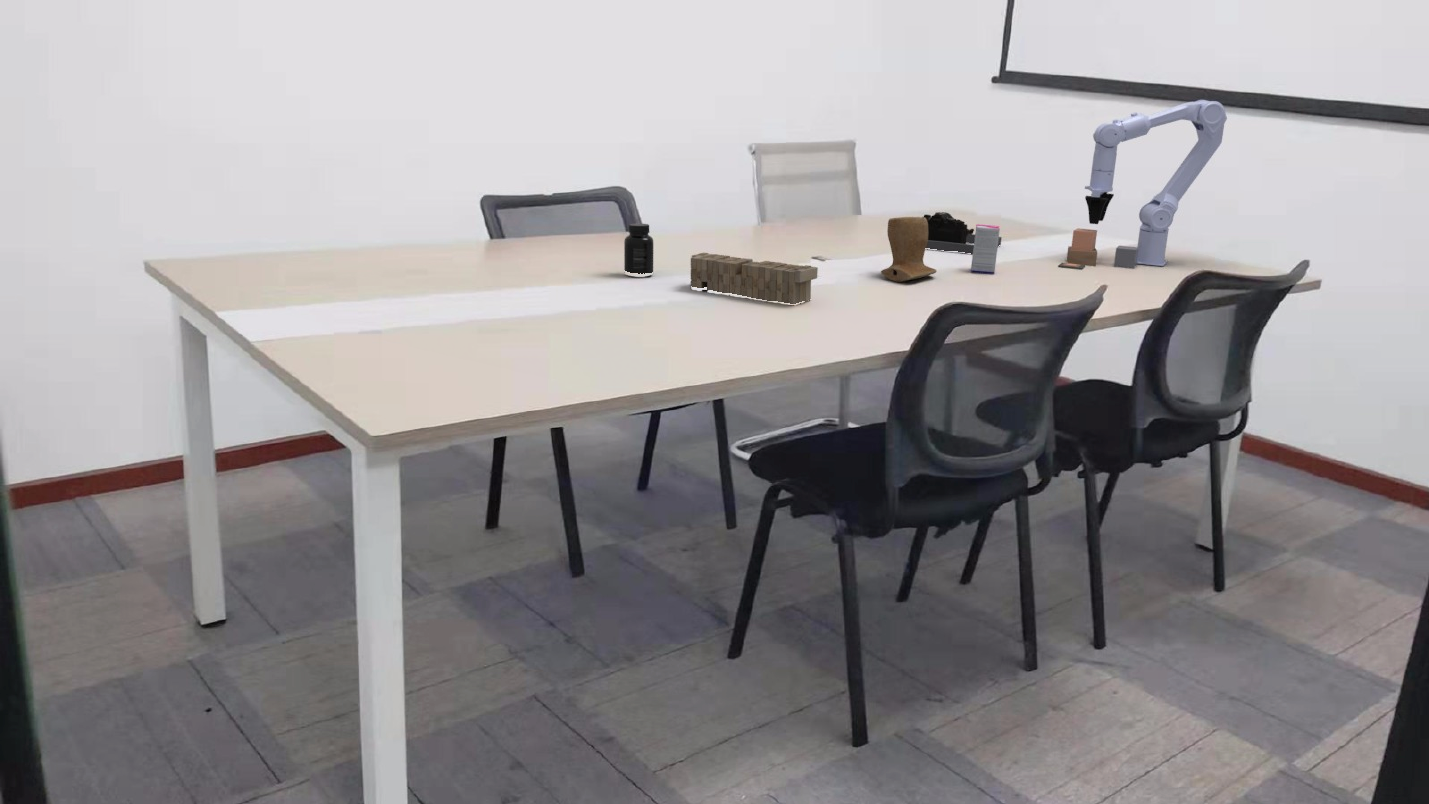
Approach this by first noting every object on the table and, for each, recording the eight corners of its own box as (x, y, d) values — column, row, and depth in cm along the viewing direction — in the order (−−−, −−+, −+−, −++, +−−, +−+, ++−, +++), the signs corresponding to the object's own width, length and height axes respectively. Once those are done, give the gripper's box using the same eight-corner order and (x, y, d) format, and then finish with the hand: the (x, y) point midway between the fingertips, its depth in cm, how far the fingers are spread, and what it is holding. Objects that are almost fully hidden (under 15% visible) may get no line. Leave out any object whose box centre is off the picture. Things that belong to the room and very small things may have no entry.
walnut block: (1066, 261, 315) (1068, 246, 314) (1093, 262, 314) (1095, 248, 312) (1067, 265, 308) (1069, 250, 307) (1095, 267, 307) (1097, 252, 306)
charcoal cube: (1116, 264, 311) (1119, 245, 310) (1136, 266, 309) (1138, 247, 308) (1113, 267, 307) (1116, 248, 306) (1133, 269, 305) (1136, 250, 303)
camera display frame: (919, 237, 344) (920, 229, 344) (1000, 245, 334) (1001, 237, 334) (898, 246, 327) (898, 237, 327) (983, 255, 317) (984, 246, 316)
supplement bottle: (658, 274, 277) (659, 224, 274) (644, 279, 271) (645, 227, 268) (632, 271, 280) (633, 221, 276) (618, 276, 274) (619, 224, 270)
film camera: (981, 248, 330) (985, 212, 327) (968, 254, 320) (971, 217, 317) (921, 241, 338) (924, 206, 335) (906, 247, 328) (909, 211, 325)
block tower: (684, 294, 262) (799, 308, 247) (684, 256, 260) (800, 268, 245) (703, 288, 268) (816, 302, 253) (703, 252, 266) (817, 263, 251)
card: (1061, 264, 308) (1061, 261, 308) (1085, 266, 305) (1085, 264, 305) (1057, 267, 304) (1058, 264, 303) (1081, 269, 301) (1081, 267, 301)
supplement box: (995, 274, 291) (999, 228, 287) (970, 272, 292) (975, 227, 289) (994, 270, 296) (999, 225, 293) (970, 268, 297) (975, 223, 294)
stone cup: (899, 270, 292) (904, 210, 288) (942, 277, 285) (947, 215, 280) (867, 278, 281) (871, 215, 276) (910, 285, 274) (915, 221, 269)
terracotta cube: (1075, 246, 313) (1078, 228, 312) (1094, 248, 311) (1097, 230, 309) (1071, 249, 309) (1073, 230, 307) (1090, 251, 307) (1092, 232, 305)
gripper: (1092, 167, 315) (1085, 217, 319) (1082, 171, 303) (1075, 223, 307) (1119, 169, 312) (1112, 220, 316) (1110, 173, 300) (1103, 226, 304)
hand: (1096, 222), depth 311 cm, fingers open, 7 cm apart
